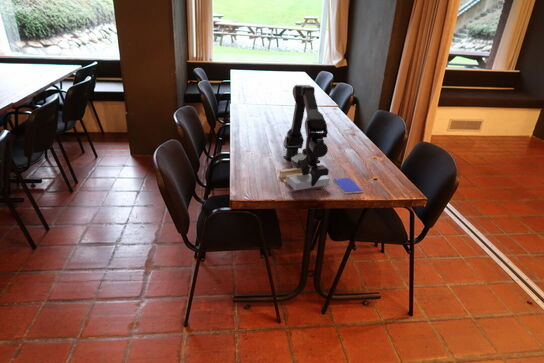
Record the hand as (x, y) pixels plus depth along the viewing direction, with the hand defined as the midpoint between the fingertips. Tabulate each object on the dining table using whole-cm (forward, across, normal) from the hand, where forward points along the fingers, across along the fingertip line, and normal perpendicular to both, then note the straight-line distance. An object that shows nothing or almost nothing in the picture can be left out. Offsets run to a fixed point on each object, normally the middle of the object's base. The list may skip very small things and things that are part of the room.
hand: (308, 182), depth 153 cm
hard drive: (+4, +3, +18) cm, 19 cm away
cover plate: (+1, 0, 0) cm, 1 cm away
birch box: (+3, -10, +3) cm, 11 cm away
